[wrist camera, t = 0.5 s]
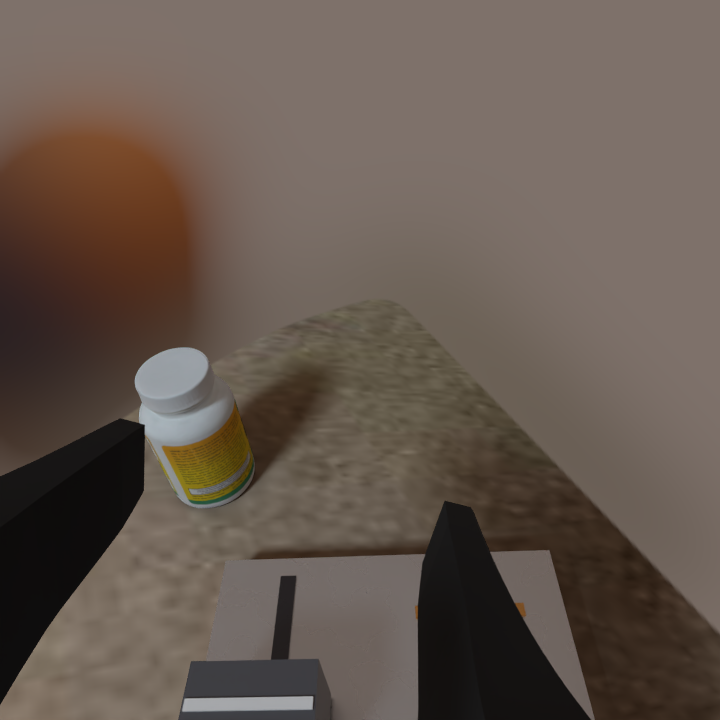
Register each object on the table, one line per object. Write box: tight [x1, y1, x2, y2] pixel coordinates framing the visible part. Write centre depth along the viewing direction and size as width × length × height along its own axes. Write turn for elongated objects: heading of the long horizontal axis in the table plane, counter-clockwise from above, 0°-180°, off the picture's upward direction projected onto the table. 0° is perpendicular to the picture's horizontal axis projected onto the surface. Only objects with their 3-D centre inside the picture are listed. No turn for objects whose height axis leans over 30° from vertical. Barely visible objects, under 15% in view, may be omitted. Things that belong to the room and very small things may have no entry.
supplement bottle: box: [135, 348, 255, 508], centre depth 32 cm, size 5×5×10 cm
